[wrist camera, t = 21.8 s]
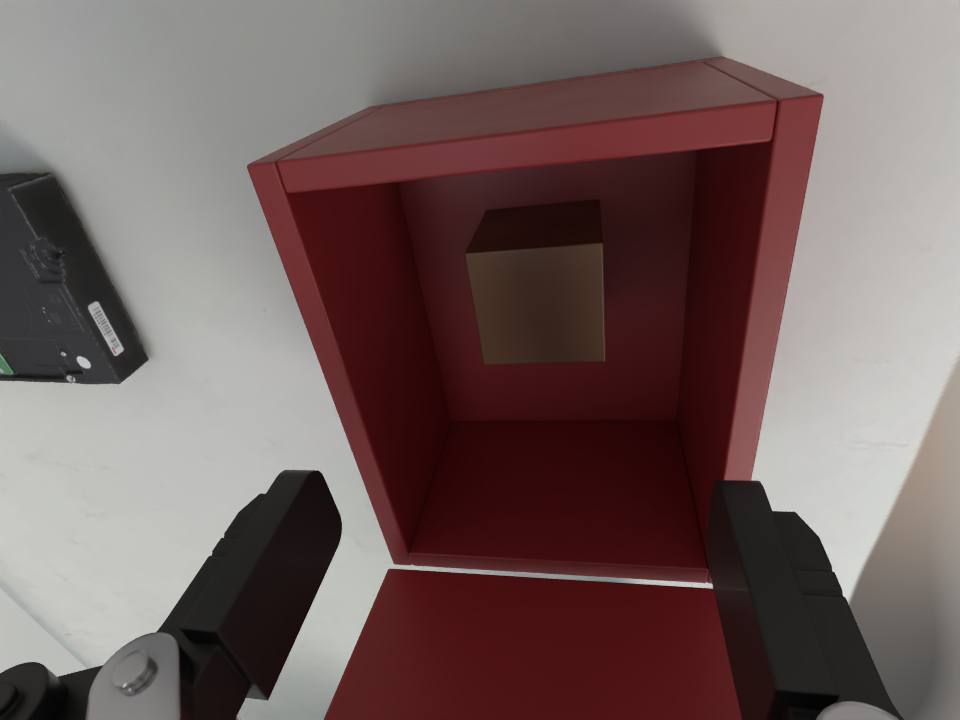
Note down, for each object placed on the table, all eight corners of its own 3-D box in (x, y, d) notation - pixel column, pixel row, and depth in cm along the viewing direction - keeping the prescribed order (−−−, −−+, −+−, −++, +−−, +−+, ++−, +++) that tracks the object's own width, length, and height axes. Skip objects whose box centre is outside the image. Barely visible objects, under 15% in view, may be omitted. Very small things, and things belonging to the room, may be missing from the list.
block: (499, 308, 23) (483, 365, 19) (485, 209, 21) (463, 253, 17) (602, 303, 22) (606, 362, 18) (600, 198, 20) (603, 242, 16)
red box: (368, 106, 20) (245, 165, 13) (725, 55, 17) (825, 93, 10) (442, 422, 28) (393, 565, 21) (690, 421, 26) (731, 585, 18)
